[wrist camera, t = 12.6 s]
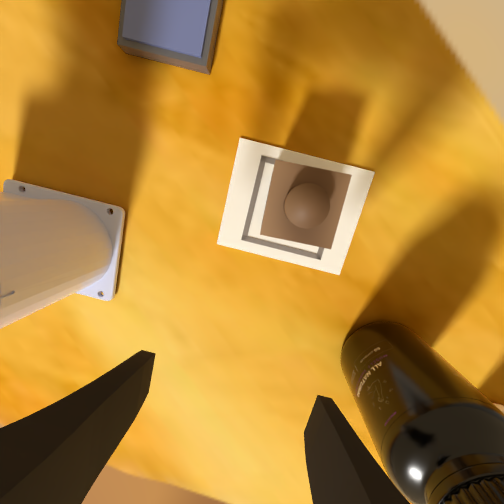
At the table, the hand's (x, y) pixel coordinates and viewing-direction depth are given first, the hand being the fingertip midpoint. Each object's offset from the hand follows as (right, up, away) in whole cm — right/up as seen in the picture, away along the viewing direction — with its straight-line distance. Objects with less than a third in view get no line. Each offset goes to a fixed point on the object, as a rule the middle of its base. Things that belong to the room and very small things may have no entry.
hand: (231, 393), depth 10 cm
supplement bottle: (+12, -3, +10) cm, 16 cm away
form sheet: (+4, +9, +8) cm, 13 cm away
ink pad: (-4, +22, +6) cm, 23 cm away
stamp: (+4, +10, +8) cm, 13 cm away
